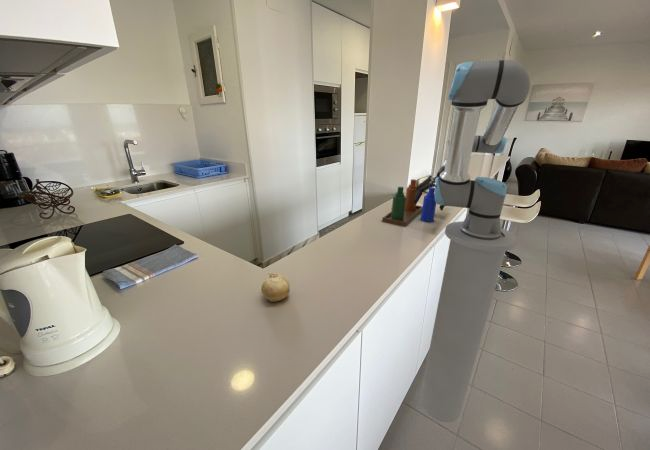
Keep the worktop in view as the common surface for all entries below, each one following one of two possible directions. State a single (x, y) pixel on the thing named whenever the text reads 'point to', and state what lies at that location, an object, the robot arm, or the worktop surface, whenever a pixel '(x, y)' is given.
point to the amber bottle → (411, 196)
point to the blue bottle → (429, 206)
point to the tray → (407, 217)
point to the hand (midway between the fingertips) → (427, 205)
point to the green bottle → (398, 205)
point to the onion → (275, 288)
